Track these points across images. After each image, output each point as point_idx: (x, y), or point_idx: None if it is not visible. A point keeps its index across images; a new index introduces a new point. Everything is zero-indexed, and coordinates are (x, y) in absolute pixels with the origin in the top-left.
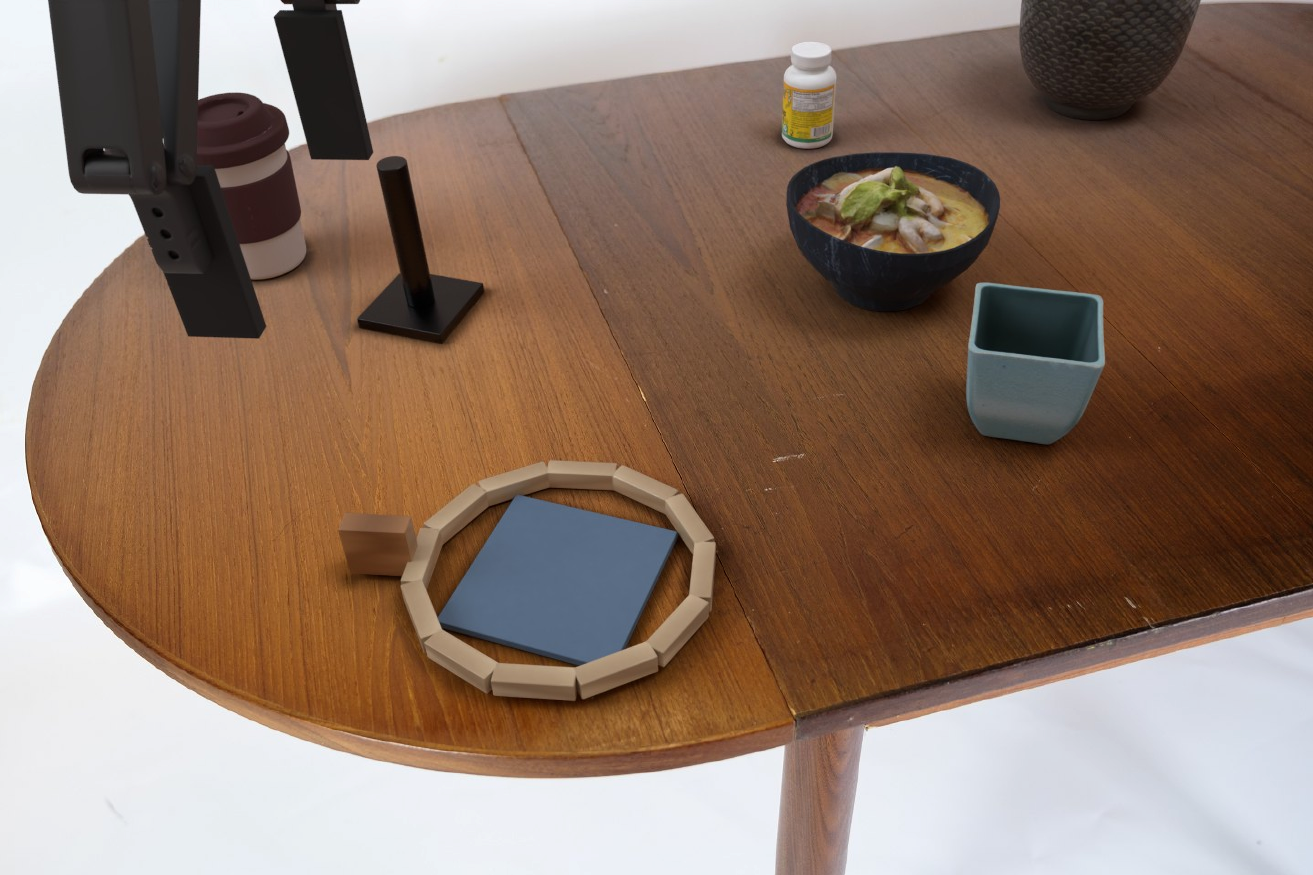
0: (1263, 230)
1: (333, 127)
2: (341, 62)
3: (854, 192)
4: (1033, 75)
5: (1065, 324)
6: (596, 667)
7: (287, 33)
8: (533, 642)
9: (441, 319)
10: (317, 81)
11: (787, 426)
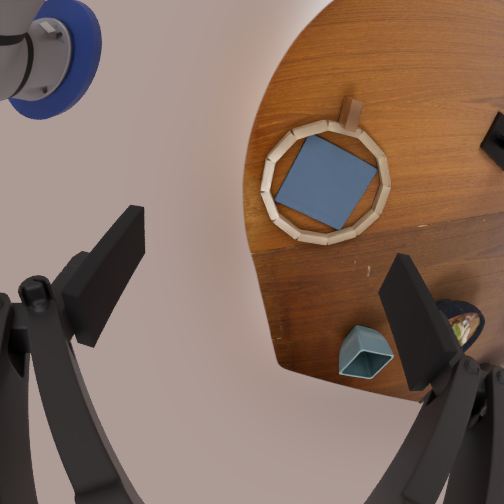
0: (404, 392)
1: (395, 293)
2: (401, 353)
3: (459, 332)
4: (489, 368)
5: (372, 364)
6: (268, 199)
7: (433, 344)
8: (292, 172)
9: (491, 150)
10: (409, 321)
11: (384, 273)
